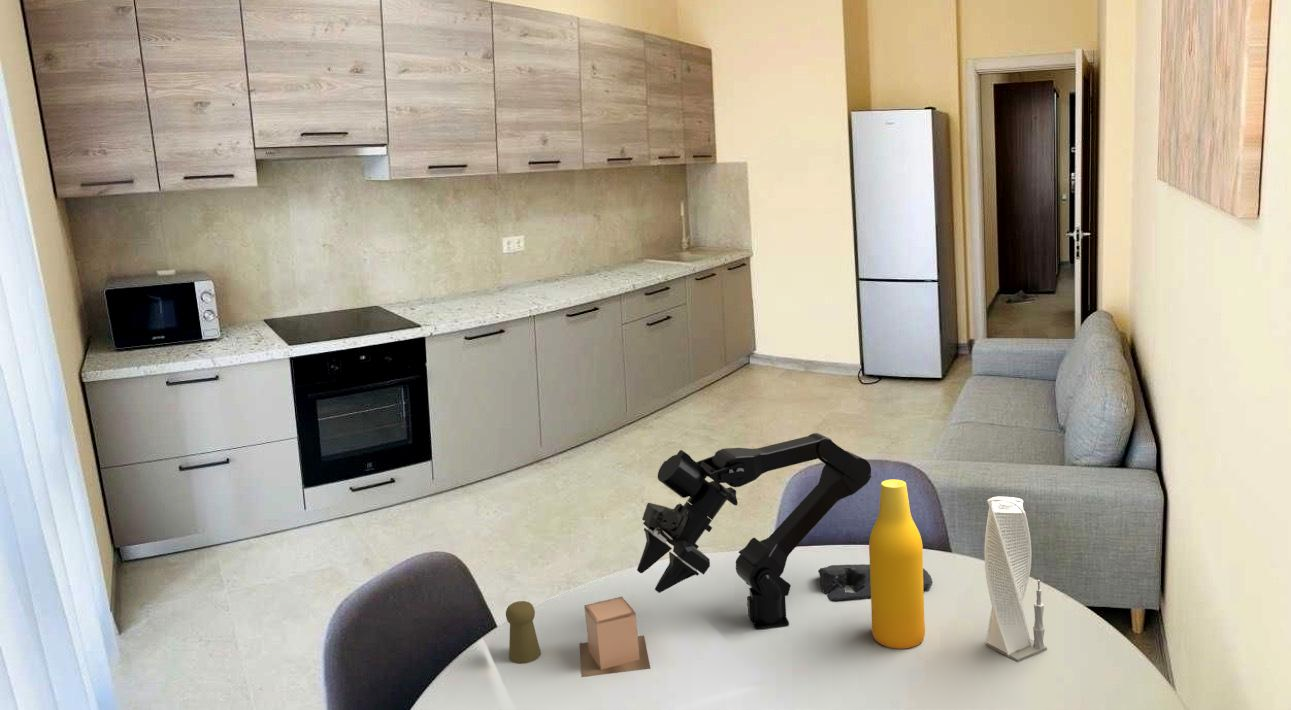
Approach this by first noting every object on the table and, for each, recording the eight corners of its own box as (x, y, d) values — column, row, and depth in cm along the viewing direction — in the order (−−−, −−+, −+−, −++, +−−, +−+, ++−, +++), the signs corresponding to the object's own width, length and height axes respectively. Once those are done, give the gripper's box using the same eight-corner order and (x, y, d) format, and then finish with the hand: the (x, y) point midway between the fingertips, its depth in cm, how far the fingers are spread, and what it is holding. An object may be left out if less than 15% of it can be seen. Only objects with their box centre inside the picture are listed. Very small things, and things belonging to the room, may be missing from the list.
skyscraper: (1011, 664, 160) (1010, 505, 154) (974, 644, 167) (972, 492, 161) (1046, 649, 164) (1047, 494, 158) (1009, 630, 171) (1008, 481, 165)
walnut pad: (644, 640, 178) (643, 635, 178) (651, 673, 166) (650, 668, 166) (580, 648, 177) (579, 643, 177) (582, 682, 165) (581, 676, 165)
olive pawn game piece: (536, 669, 171) (529, 612, 169) (504, 668, 172) (497, 611, 170) (546, 652, 177) (540, 597, 174) (515, 651, 178) (509, 596, 176)
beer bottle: (929, 628, 174) (925, 476, 168) (920, 653, 166) (916, 494, 160) (877, 621, 178) (872, 473, 172) (867, 645, 170) (861, 490, 164)
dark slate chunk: (939, 599, 186) (938, 576, 185) (824, 604, 187) (823, 582, 186) (921, 566, 201) (921, 545, 200) (815, 571, 202) (814, 550, 201)
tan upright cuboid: (626, 641, 176) (622, 596, 174) (639, 659, 169) (635, 612, 168) (588, 651, 174) (584, 605, 172) (601, 669, 167) (596, 622, 165)
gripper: (649, 472, 179) (598, 540, 177) (687, 502, 161) (632, 578, 160) (691, 504, 183) (642, 571, 181) (733, 536, 165) (679, 610, 164)
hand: (647, 581), depth 172 cm, fingers open, 9 cm apart
